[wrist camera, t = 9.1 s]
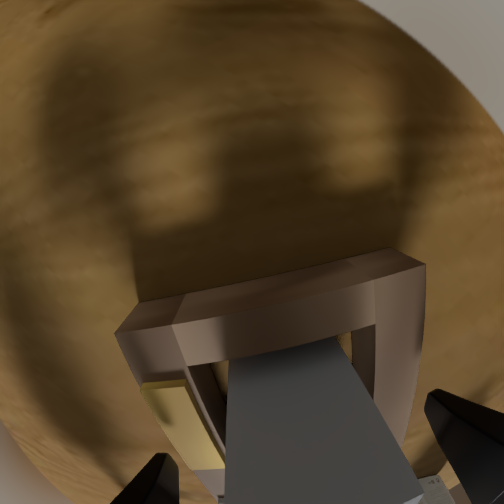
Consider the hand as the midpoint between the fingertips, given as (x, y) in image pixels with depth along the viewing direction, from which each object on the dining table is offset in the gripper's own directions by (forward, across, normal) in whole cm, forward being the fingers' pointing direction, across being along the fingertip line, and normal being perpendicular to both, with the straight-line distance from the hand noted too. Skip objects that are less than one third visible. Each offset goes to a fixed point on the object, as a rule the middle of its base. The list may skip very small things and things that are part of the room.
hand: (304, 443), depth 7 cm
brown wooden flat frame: (+4, 0, +4) cm, 6 cm away
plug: (+4, 0, 0) cm, 4 cm away
